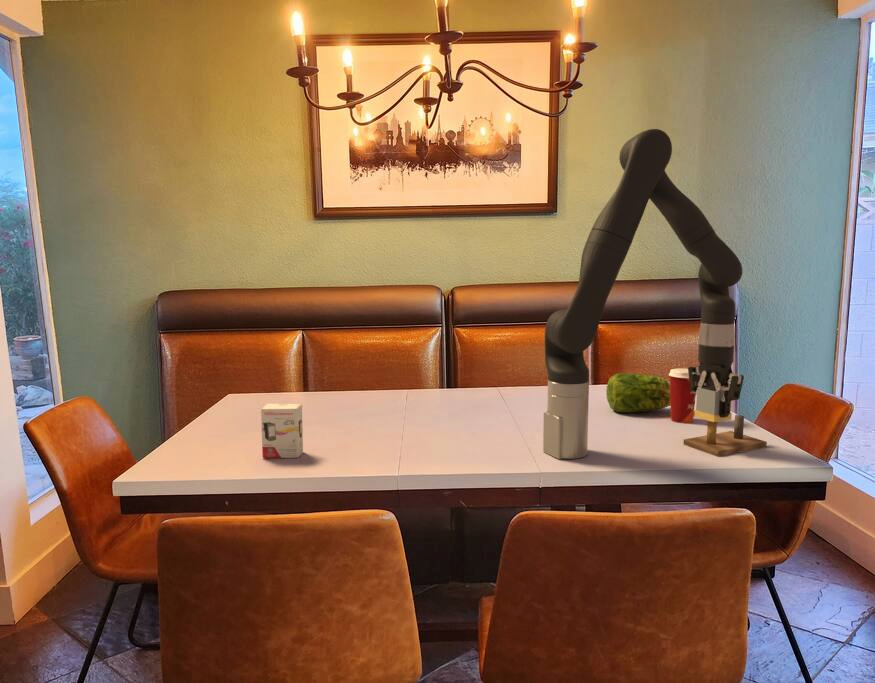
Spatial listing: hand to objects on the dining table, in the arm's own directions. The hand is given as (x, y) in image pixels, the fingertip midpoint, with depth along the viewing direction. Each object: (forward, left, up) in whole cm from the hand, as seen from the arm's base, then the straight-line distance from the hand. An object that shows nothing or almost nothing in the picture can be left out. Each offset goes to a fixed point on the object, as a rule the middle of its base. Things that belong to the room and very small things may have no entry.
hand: (712, 413), depth 142 cm
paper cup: (+12, +21, -9) cm, 26 cm away
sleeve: (0, 0, -1) cm, 1 cm away
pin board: (+4, 0, -8) cm, 10 cm away
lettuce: (+10, +33, -9) cm, 35 cm away
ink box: (-93, +40, -9) cm, 101 cm away
